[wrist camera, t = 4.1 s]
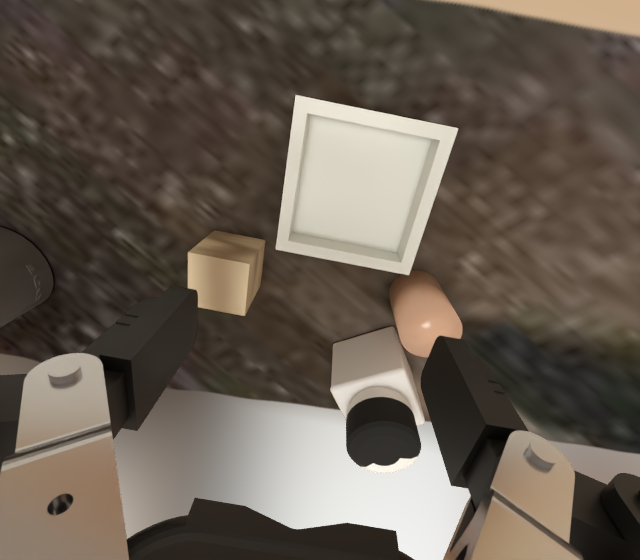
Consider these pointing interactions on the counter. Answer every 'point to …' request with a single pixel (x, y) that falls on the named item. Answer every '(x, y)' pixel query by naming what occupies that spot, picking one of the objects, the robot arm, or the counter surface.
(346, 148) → the white tray
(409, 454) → the medicine bottle
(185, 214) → the counter surface
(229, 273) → the maple block
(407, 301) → the peach rounded capsule
